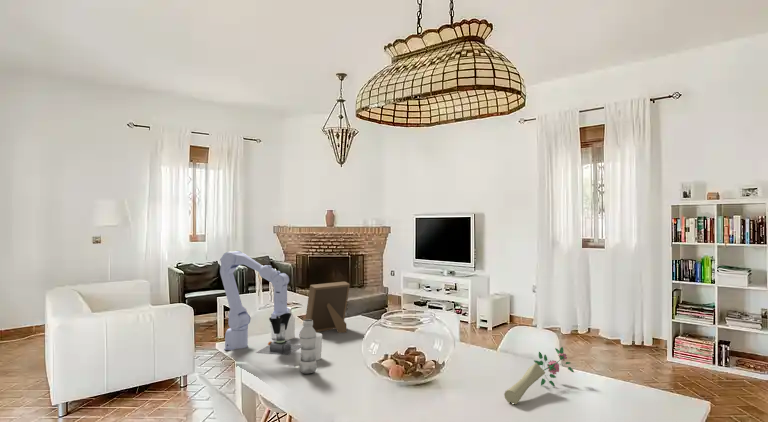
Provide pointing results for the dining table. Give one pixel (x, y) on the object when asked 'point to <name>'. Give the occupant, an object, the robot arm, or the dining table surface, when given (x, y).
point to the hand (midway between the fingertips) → (280, 331)
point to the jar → (290, 328)
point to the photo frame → (328, 306)
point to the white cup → (318, 346)
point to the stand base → (280, 348)
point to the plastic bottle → (307, 348)
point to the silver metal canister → (281, 335)
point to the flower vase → (534, 377)
